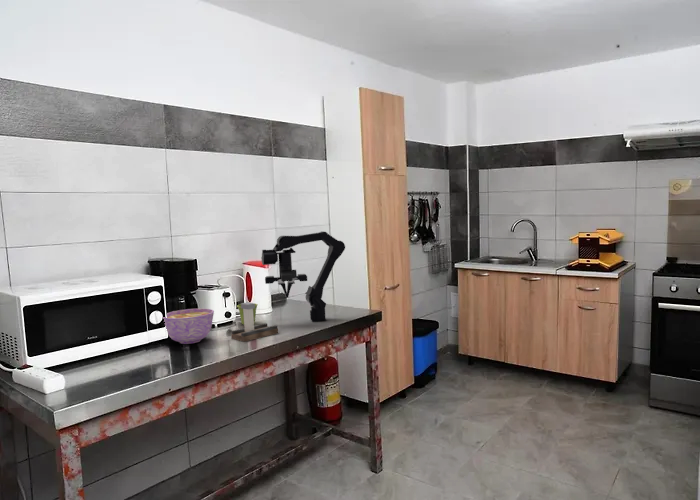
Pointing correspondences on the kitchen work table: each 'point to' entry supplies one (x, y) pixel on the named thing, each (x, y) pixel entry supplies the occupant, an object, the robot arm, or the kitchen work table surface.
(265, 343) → the kitchen work table surface
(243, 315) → the plant pot
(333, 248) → the robot arm
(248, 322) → the fader tab
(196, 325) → the bowl of food
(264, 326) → the rail
